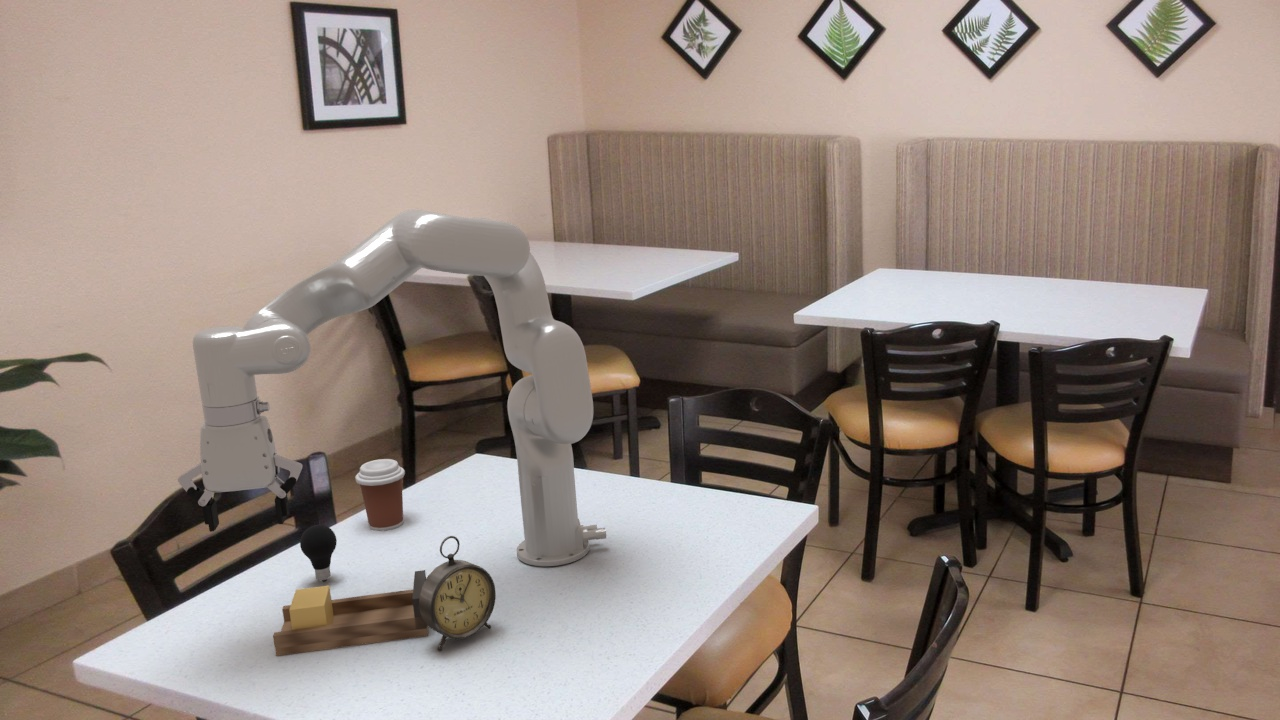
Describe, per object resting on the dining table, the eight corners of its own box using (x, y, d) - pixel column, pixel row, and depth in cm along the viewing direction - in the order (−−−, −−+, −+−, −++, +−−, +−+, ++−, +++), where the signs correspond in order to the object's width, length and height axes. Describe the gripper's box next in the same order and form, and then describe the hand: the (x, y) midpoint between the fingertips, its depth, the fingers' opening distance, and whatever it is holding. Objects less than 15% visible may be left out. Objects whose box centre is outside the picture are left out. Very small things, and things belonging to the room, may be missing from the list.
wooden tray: (429, 606, 173) (425, 570, 172) (427, 635, 163) (423, 597, 162) (286, 624, 170) (280, 588, 168) (276, 656, 160) (270, 617, 159)
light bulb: (331, 589, 181) (323, 533, 179) (299, 588, 183) (291, 532, 180) (347, 574, 187) (340, 519, 185) (316, 573, 188) (308, 518, 186)
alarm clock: (438, 658, 157) (425, 553, 153) (419, 645, 161) (406, 543, 157) (501, 630, 164) (491, 529, 160) (481, 619, 168) (470, 520, 164)
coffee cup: (420, 519, 210) (413, 460, 207) (386, 537, 202) (378, 475, 199) (386, 512, 214) (379, 454, 211) (351, 529, 207) (343, 469, 204)
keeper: (333, 615, 169) (329, 585, 168) (328, 636, 162) (324, 605, 161) (300, 619, 168) (295, 589, 167) (293, 640, 162) (289, 610, 161)
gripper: (297, 400, 161) (312, 509, 165) (175, 411, 159) (193, 521, 163) (289, 414, 154) (305, 527, 158) (161, 426, 152) (180, 540, 156)
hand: (248, 524), depth 161 cm, fingers open, 9 cm apart
